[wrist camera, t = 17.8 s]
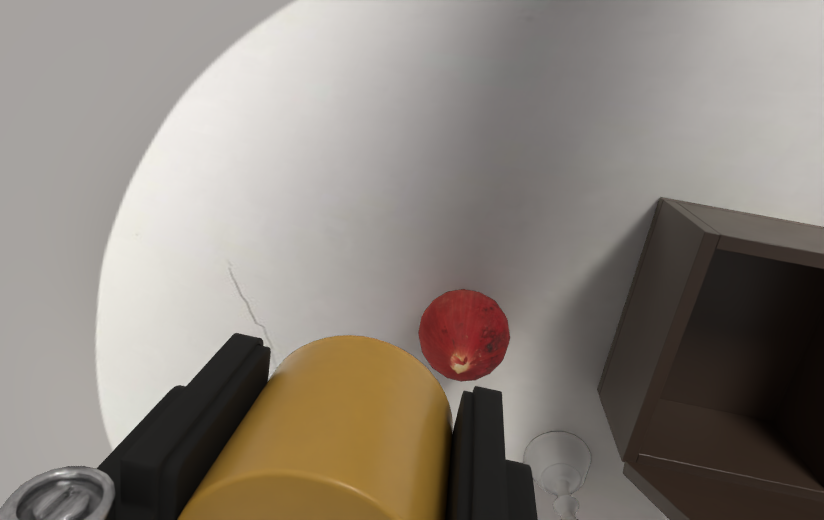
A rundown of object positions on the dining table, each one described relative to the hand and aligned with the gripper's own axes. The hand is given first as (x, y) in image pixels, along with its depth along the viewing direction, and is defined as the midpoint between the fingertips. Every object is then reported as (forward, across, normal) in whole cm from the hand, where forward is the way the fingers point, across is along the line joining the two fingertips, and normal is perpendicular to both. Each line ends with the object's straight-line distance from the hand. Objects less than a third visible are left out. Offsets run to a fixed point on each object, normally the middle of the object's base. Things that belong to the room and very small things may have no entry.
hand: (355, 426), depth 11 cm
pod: (0, 0, 0) cm, 0 cm away
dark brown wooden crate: (+27, -20, +6) cm, 34 cm away
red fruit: (+27, -4, +9) cm, 29 cm away
